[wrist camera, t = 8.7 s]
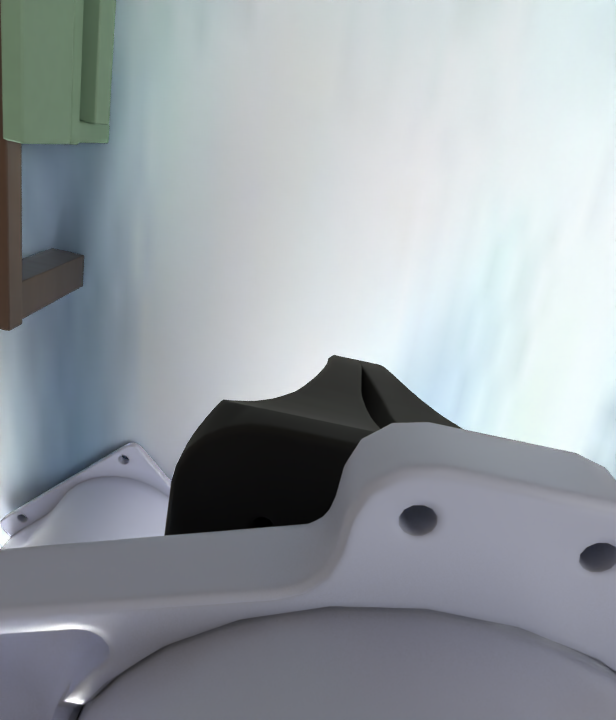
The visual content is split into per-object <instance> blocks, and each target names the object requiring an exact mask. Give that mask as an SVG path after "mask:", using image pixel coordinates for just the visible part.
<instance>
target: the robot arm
mask: <svg viewBox="0 0 616 720" xmlns="http://www.w3.org/2000/svg"><path fill="white" fill-rule="evenodd" d="M121 455H124V456H126V457H128V459H129V460H126V459H124V458H122V456H121ZM23 515H25V516H26V517H25V516H23ZM0 525H1V527H2V529H3V530H4V531H5V532H6V533H7V534H8V535H9V536H10V537H11V538H10V539H9V540H8V541H7V542H6V544H5V545H4V546H3V547H2V548H1V549H0V720H616V480H615V479H614V478H613V476H612V475H611V474H610V473H609V472H608V471H607V469H606V468H605V467H603V466H601V465H599V464H597V463H595V462H593V461H591V460H589V459H587V458H585V457H583V456H581V455H579V454H577V453H573V452H568V451H563V450H558V449H554V448H549V447H544V446H540V445H535V444H530V443H525V442H521V441H516V440H511V439H506V438H502V437H497V436H492V435H487V434H483V433H478V432H473V431H468V430H464V429H462V428H460V427H459V426H457V425H456V424H454V423H452V422H451V421H449V420H448V419H446V418H444V417H443V416H442V415H440V414H439V413H437V412H436V411H435V410H433V409H432V408H431V407H429V406H428V405H427V404H426V403H424V402H423V401H422V400H421V399H419V398H418V397H417V396H416V395H415V394H414V393H412V392H411V391H410V390H409V389H408V388H407V387H406V386H405V385H403V384H402V383H401V382H400V381H399V380H398V379H397V378H396V377H395V376H394V375H393V374H392V373H390V372H389V371H388V370H387V369H386V368H384V367H383V366H381V365H378V364H373V363H369V362H364V361H359V360H355V359H350V358H345V357H341V356H336V355H333V356H331V357H330V358H328V363H327V365H326V366H325V367H324V369H323V370H322V371H321V372H320V373H319V374H318V375H317V376H316V377H315V378H314V379H312V380H311V381H310V382H309V383H307V384H306V385H305V386H303V387H302V388H300V389H299V390H297V391H295V392H293V393H290V394H287V395H284V396H280V397H277V398H273V399H267V400H259V401H233V400H222V401H221V402H220V403H219V404H218V405H217V406H216V407H215V408H214V409H213V410H212V411H211V413H210V414H209V415H208V416H207V417H206V418H205V420H204V421H203V422H202V423H201V425H200V426H199V427H198V428H197V430H196V431H195V433H194V434H193V435H192V437H191V438H190V440H189V442H188V443H187V445H186V447H185V449H184V451H183V453H182V455H181V457H180V459H179V461H178V463H177V465H176V468H175V471H174V475H173V478H172V481H171V480H170V479H169V478H168V477H167V476H166V475H165V473H164V472H163V471H162V470H161V469H160V468H159V466H158V465H157V464H156V463H155V462H154V461H153V459H152V458H151V457H150V456H149V455H148V454H147V453H146V451H145V450H144V449H143V448H142V447H141V446H140V445H139V444H136V443H128V444H126V445H124V446H123V447H121V448H119V449H118V450H116V451H114V452H113V453H111V454H109V455H107V456H106V457H104V458H102V459H101V460H99V461H97V462H96V463H94V464H92V465H90V466H89V467H87V468H85V469H84V470H82V471H80V472H79V473H77V474H75V475H74V476H72V477H70V478H68V479H67V480H65V481H63V482H62V483H60V484H58V485H57V486H55V487H53V488H51V489H50V490H48V491H46V492H45V493H43V494H41V495H40V496H38V497H36V498H34V499H33V500H31V501H29V502H28V503H26V504H24V505H23V506H21V507H19V508H18V509H16V510H14V511H12V512H11V513H9V514H7V515H6V516H5V517H4V518H3V519H2V520H1V522H0Z"/></svg>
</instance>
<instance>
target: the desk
mask: <svg viewBox="0 0 616 720" xmlns="http://www.w3.org/2000/svg"><path fill="white" fill-rule="evenodd" d="M83 271H84V255H81V254H76V253H72V252H68V251H63V250H59V249H54V248H51V249H48V250H45V251H43V252H40V253H37V254H34V255H31V256H28V257H26V258H23V259H22V167H21V143H17V142H12V141H8V140H5V139H4V138H3V102H2V46H1V0H0V329H2V330H7V331H10V330H12V329H14V328H16V327H17V326H19V325H21V324H22V319H23V318H25V317H27V316H29V315H31V314H32V313H34V312H36V311H38V310H40V309H42V308H44V307H45V306H47V305H49V304H51V303H53V302H55V301H56V300H58V299H60V298H62V297H64V296H66V295H67V294H69V293H71V292H73V291H75V290H77V289H79V288H80V287H82V286H83Z"/></svg>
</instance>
